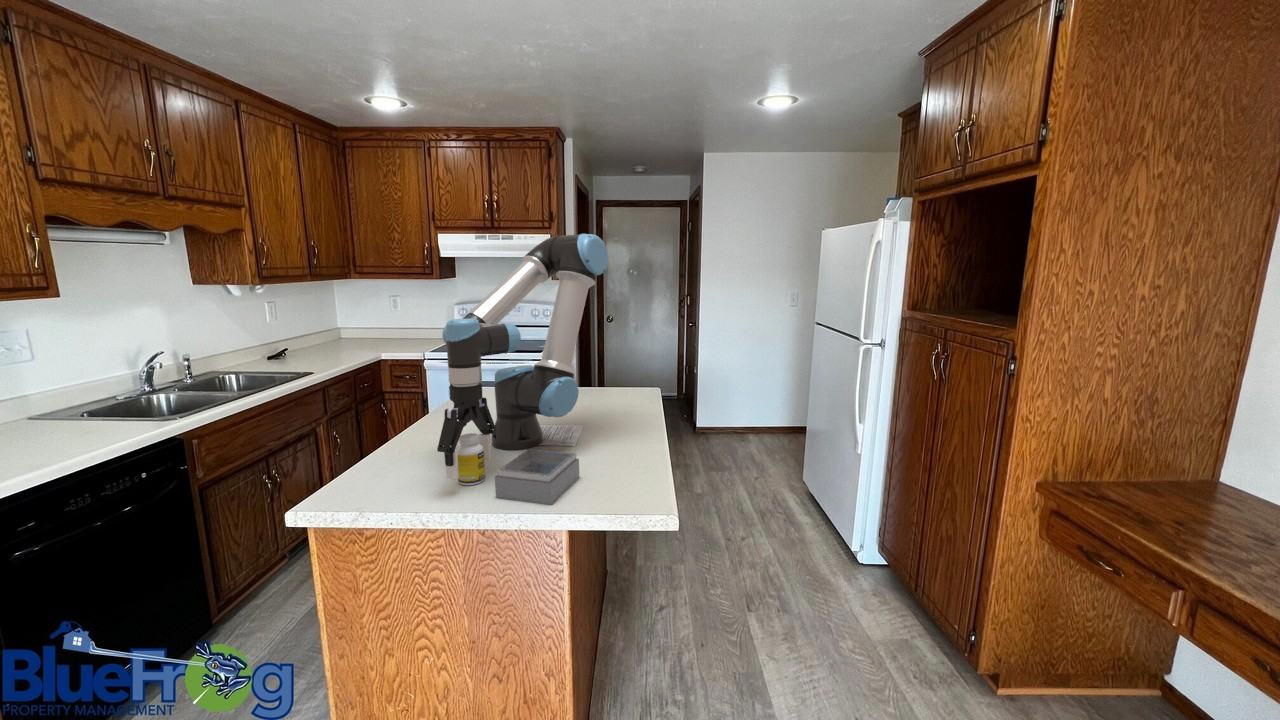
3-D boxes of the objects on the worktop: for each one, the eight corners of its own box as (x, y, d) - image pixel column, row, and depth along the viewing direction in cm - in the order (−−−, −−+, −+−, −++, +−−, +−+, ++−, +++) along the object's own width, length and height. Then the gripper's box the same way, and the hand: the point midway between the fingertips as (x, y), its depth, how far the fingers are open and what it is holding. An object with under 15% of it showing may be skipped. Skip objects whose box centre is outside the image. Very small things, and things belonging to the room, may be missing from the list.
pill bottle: (477, 487, 126) (474, 441, 124) (452, 485, 127) (449, 439, 125) (490, 477, 132) (487, 432, 130) (466, 475, 134) (463, 431, 132)
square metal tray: (522, 471, 136) (521, 447, 135) (579, 477, 131) (578, 453, 130) (488, 496, 121) (486, 469, 120) (551, 504, 116) (550, 477, 115)
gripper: (481, 373, 138) (484, 450, 142) (416, 393, 115) (422, 485, 118) (506, 375, 136) (509, 453, 140) (446, 395, 113) (451, 489, 116)
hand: (469, 468), depth 129 cm, fingers open, 13 cm apart
